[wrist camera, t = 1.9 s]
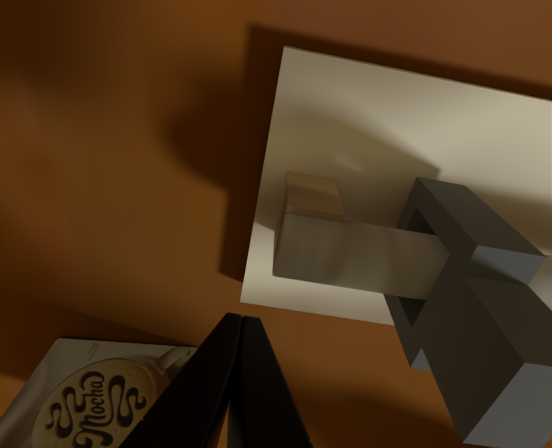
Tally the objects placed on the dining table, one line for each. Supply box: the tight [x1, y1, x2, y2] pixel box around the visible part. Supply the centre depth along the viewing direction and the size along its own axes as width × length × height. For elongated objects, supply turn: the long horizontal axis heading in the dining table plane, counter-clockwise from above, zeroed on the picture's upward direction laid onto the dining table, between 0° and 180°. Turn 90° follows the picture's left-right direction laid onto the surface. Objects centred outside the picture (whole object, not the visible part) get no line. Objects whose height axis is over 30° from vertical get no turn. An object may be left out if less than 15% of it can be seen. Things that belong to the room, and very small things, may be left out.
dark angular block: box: [383, 177, 552, 448], centre depth 12 cm, size 5×2×8 cm, turn 170°
